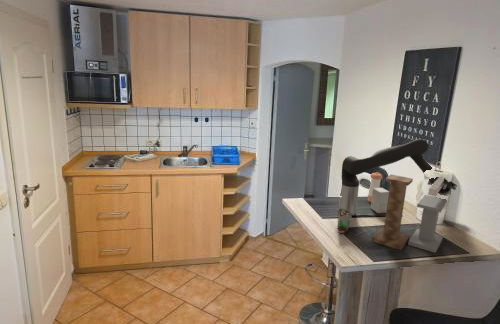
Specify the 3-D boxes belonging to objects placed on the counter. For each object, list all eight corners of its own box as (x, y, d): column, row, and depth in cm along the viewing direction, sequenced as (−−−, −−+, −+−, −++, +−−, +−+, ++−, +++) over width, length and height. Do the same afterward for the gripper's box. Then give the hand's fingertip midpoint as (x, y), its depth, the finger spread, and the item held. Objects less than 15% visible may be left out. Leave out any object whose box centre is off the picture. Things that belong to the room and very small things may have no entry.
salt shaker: (370, 197, 228) (374, 169, 223) (381, 201, 223) (385, 172, 218) (365, 200, 223) (368, 172, 218) (375, 203, 218) (379, 174, 213)
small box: (387, 212, 205) (390, 191, 201) (377, 213, 203) (380, 192, 200) (379, 207, 212) (382, 187, 209) (370, 208, 211) (372, 187, 208)
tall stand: (371, 240, 170) (379, 178, 161) (380, 231, 180) (388, 172, 172) (401, 250, 162) (411, 185, 153) (409, 239, 172) (418, 178, 164)
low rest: (408, 244, 167) (414, 203, 162) (417, 231, 181) (423, 193, 176) (435, 252, 160) (443, 210, 155) (442, 238, 174) (450, 199, 168)
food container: (350, 236, 174) (353, 218, 171) (338, 235, 175) (340, 216, 172) (349, 226, 185) (351, 208, 183) (337, 224, 186) (339, 207, 184)
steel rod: (428, 194, 160) (429, 188, 159) (438, 182, 179) (439, 176, 178) (435, 196, 158) (436, 189, 158) (444, 183, 177) (445, 177, 176)
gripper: (430, 179, 191) (426, 169, 177) (459, 184, 183) (458, 175, 169) (427, 192, 190) (423, 183, 176) (456, 198, 182) (454, 189, 168)
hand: (440, 179), depth 173 cm, fingers closed on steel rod, 3 cm apart
